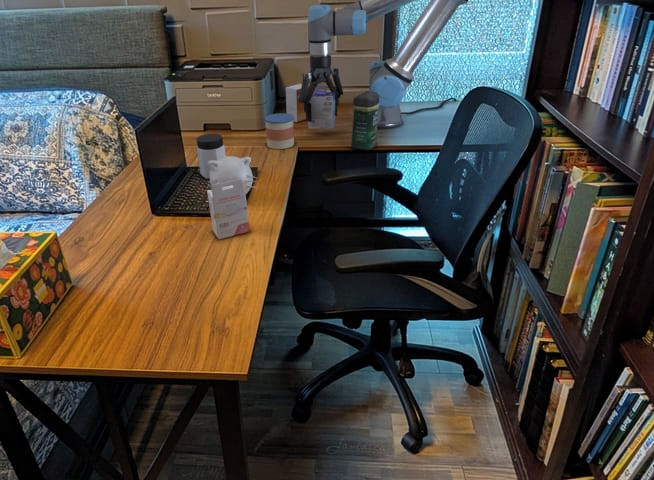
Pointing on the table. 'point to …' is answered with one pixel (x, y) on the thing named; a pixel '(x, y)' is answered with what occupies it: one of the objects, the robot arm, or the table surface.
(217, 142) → the jar
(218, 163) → the cat head
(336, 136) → the table surface
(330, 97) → the ink cartridge box
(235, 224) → the ink cartridge box
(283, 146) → the yogurt tub
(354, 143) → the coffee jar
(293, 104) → the small box
